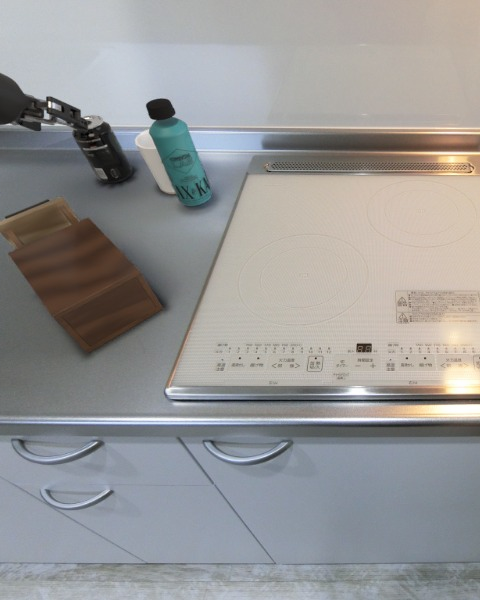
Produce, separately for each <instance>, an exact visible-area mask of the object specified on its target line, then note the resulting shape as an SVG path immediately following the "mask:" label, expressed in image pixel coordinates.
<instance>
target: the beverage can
mask: <svg viewBox="0 0 480 600" xmlns="http://www.w3.org/2000/svg"><path fill="white" fill-rule="evenodd" d="M81 117H82V118H84V119H86V120H87V121H88V132H81V131H79V130H76V129H74V128H72V130H71V136H72V138H73V140H74V141H75V143H76V145H77V146H78V148H79V150H80V152H81V153H82V155H83V156H84V157H85V159H86V161H87V163H88V164H89V166H90V168H91V169H92V171H93V172H94V175H95V176H96V177H97V179H98V180H99V181H100V182H103V183H108V184H116V183H121V182H123V181H125V180H127V179H128V178H129V177H130V176H131V174H132V173H133V167H132V164H131V163H130V160H129V159H128V157H127V155H126V153H125V151H124V150H123V147H122V145H121V144H120V141H119V139H118V138H117V136H116V134H115V131H114V130H113V128H112V126H111V124H110V123H109V122H107V121H104V119H103V117H102V116H100V115H95V114H93V115H85V116H81Z"/></svg>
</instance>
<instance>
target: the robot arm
mask: <svg viewBox="0 0 480 600" xmlns="http://www.w3.org/2000/svg"><path fill="white" fill-rule="evenodd" d="M45 111H46V114H47V115H48V118H45ZM82 117H83V116H82V110H81V108H78V107H76V106H73V105H72V104H70V103H67V102H64V101H62V100H60V99H58V98H56V97H54V96H50V95H49V96H46V97H45V99H41V98H38V97H35V96H34V95H31V94H27V93H24V91H23V90H22V88H21V87H20V85H19V84H18V83H17V82H16V80H14V79H13V78H11V77H10V76H8V75H6V74H3V73H2V72H0V126H5V125H9V124H10V125H12V126H16V127H17V126H21V127H23V128H26V129H28V130H31V131H33V132H42V124H44V125H49V126H55V125H56V124H58V125H62V126H67V127H69V128H72V129H73V128H74V129H76V130H79V131H81V132H88V121H87V120H86V119H84V118H82Z"/></svg>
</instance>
